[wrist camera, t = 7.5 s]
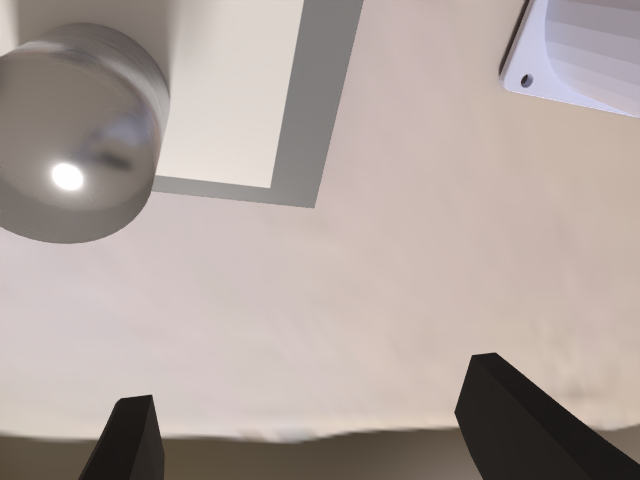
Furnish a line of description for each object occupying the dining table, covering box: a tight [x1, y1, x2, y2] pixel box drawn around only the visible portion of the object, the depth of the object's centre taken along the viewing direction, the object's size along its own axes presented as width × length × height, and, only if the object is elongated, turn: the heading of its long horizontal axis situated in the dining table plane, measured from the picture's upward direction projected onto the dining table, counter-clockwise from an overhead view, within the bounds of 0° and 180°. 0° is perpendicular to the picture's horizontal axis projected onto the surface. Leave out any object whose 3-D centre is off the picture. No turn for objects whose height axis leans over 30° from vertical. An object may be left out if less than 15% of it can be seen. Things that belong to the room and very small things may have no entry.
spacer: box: [0, 23, 170, 244], centre depth 12 cm, size 4×4×5 cm
